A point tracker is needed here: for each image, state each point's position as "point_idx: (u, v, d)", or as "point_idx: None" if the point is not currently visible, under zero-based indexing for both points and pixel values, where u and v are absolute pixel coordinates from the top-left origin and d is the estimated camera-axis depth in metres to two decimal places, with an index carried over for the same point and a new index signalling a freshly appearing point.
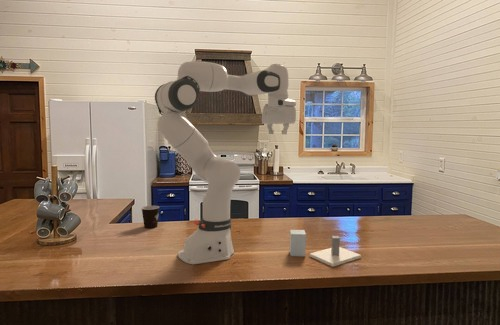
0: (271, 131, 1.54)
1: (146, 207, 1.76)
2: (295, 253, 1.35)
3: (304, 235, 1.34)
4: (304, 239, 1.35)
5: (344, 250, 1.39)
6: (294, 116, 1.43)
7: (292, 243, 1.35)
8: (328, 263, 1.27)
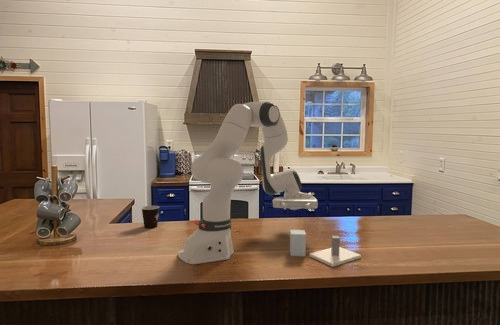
0: (286, 205, 1.50)
1: (146, 207, 1.76)
2: (295, 253, 1.35)
3: (304, 235, 1.34)
4: (304, 239, 1.35)
5: (344, 250, 1.39)
6: None
7: (292, 243, 1.35)
8: (328, 263, 1.27)
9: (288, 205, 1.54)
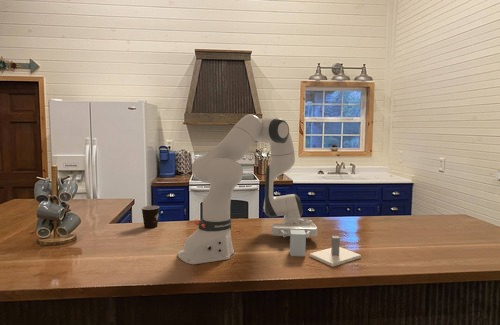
0: None
1: (146, 207, 1.76)
2: (295, 253, 1.35)
3: (304, 235, 1.34)
4: (304, 239, 1.35)
5: (344, 250, 1.39)
6: None
7: (292, 243, 1.35)
8: (328, 263, 1.27)
9: (288, 233, 1.51)
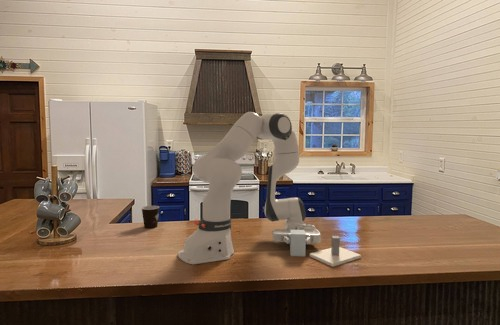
0: None
1: (146, 207, 1.76)
2: (295, 253, 1.35)
3: (304, 235, 1.34)
4: (304, 239, 1.35)
5: (344, 250, 1.39)
6: None
7: (292, 243, 1.35)
8: (328, 263, 1.27)
9: (289, 239, 1.43)
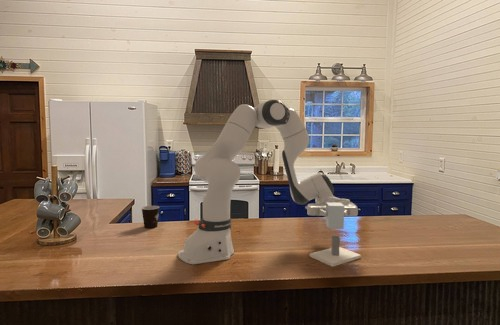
0: None
1: (146, 207, 1.76)
2: (333, 225, 1.31)
3: (342, 207, 1.30)
4: (342, 211, 1.30)
5: (344, 250, 1.39)
6: None
7: (330, 215, 1.31)
8: (328, 263, 1.27)
9: None
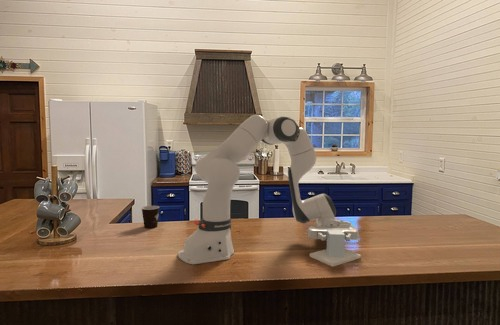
0: None
1: (146, 207, 1.76)
2: (333, 254, 1.32)
3: (343, 235, 1.31)
4: (343, 239, 1.31)
5: (344, 250, 1.39)
6: None
7: (330, 243, 1.31)
8: (328, 263, 1.27)
9: (326, 236, 1.39)
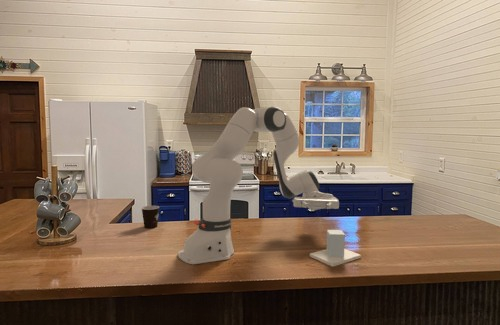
0: None
1: (146, 207, 1.76)
2: (333, 254, 1.32)
3: (343, 235, 1.31)
4: (343, 239, 1.31)
5: (344, 250, 1.39)
6: None
7: (330, 243, 1.31)
8: (328, 263, 1.27)
9: (309, 205, 1.52)
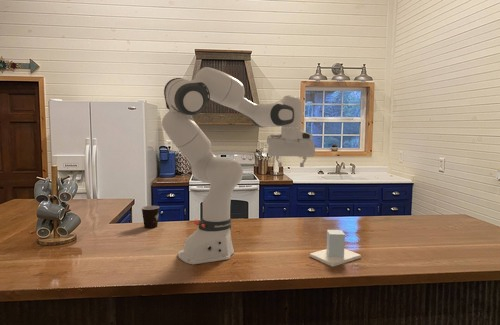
0: (281, 164, 1.47)
1: (146, 207, 1.76)
2: (333, 254, 1.32)
3: (343, 235, 1.31)
4: (343, 239, 1.31)
5: (344, 250, 1.39)
6: None
7: (330, 243, 1.31)
8: (328, 263, 1.27)
9: None
